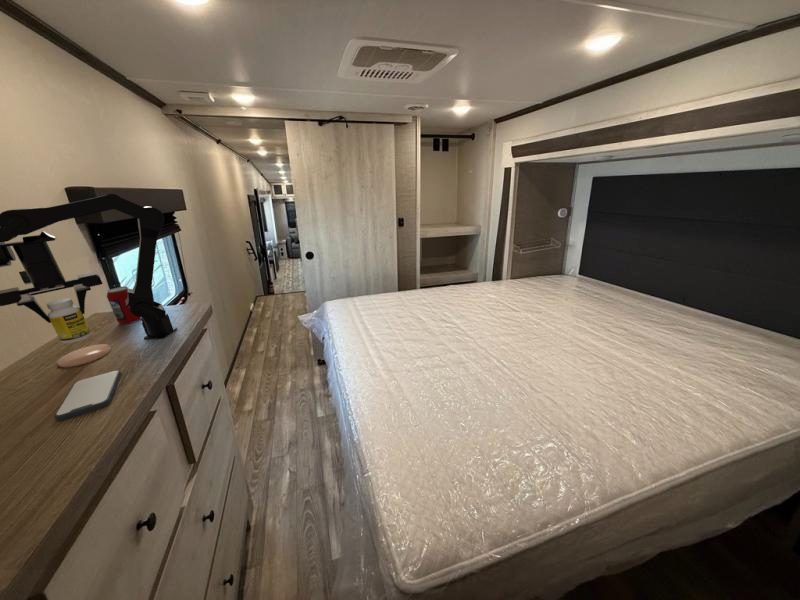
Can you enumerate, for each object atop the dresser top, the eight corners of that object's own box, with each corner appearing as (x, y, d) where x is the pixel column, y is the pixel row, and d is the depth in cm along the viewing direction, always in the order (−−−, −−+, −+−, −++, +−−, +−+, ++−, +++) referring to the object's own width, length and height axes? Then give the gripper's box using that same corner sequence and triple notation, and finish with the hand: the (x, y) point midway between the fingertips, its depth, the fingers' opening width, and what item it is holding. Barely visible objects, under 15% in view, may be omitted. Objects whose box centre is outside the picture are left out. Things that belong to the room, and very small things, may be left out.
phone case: (77, 386, 76) (54, 425, 63) (74, 381, 75) (50, 418, 63) (123, 373, 80) (111, 407, 67) (121, 368, 80) (108, 400, 67)
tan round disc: (121, 345, 94) (120, 343, 93) (86, 366, 83) (85, 363, 83) (85, 347, 94) (84, 345, 94) (46, 368, 84) (45, 365, 83)
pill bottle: (77, 343, 84) (57, 305, 79) (54, 344, 84) (34, 306, 80) (98, 332, 89) (81, 296, 85) (77, 333, 90) (59, 297, 86)
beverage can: (117, 321, 111) (103, 290, 107) (140, 315, 116) (128, 284, 111) (120, 327, 107) (105, 293, 102) (144, 320, 111) (131, 288, 107)
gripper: (84, 250, 90) (106, 300, 96) (-18, 266, 77) (15, 323, 83) (90, 254, 83) (113, 308, 89) (-21, 272, 70) (15, 334, 76)
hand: (67, 317), depth 84 cm, fingers closed on pill bottle, 6 cm apart
